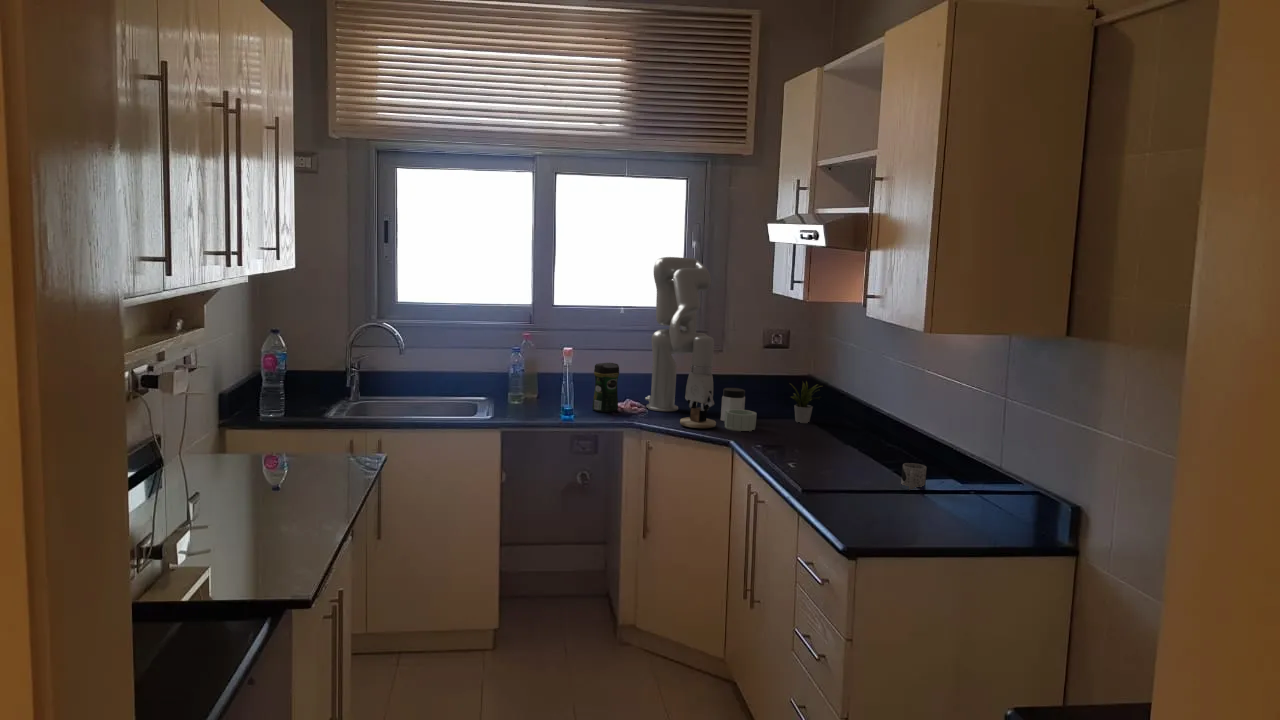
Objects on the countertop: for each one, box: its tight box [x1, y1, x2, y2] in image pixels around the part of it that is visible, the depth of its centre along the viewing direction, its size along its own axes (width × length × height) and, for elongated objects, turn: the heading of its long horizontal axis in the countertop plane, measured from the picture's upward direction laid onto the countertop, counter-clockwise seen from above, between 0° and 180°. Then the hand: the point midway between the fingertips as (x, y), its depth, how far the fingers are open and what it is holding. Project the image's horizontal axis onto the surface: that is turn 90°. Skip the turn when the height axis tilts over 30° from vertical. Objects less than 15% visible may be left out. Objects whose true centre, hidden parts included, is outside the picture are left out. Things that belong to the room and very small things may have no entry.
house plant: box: [790, 380, 822, 424], centre depth 376 cm, size 14×14×16 cm
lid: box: [679, 406, 717, 429], centre depth 357 cm, size 13×13×6 cm
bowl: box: [724, 409, 757, 432], centre depth 358 cm, size 11×11×6 cm
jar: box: [720, 387, 746, 422], centre depth 371 cm, size 9×8×12 cm
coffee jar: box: [592, 362, 620, 413], centre depth 377 cm, size 10×8×19 cm
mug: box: [900, 462, 928, 489], centre depth 282 cm, size 10×7×7 cm
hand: (698, 419), depth 357 cm, fingers closed on lid, 4 cm apart
